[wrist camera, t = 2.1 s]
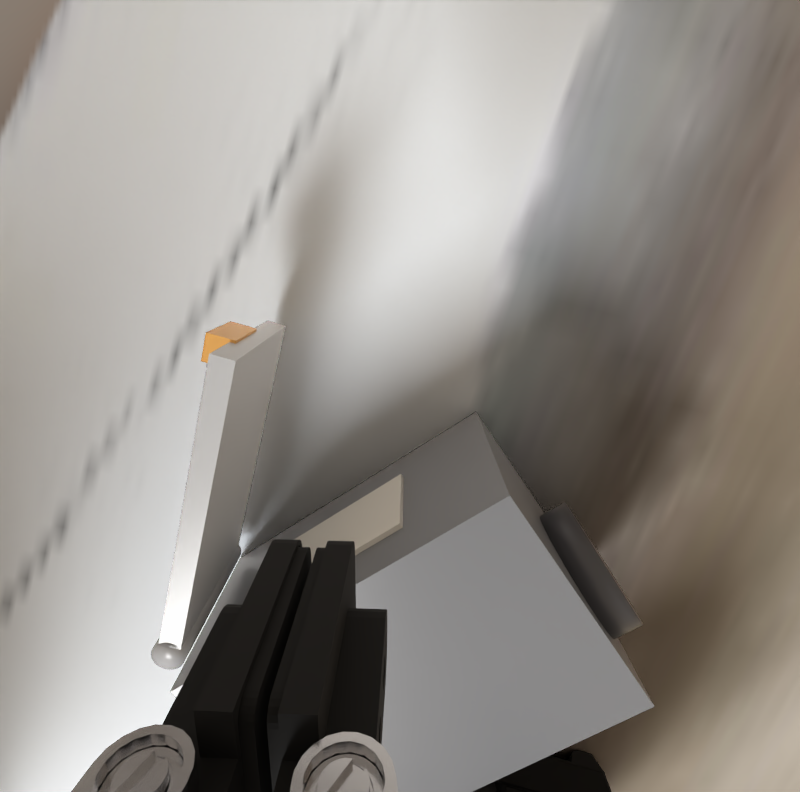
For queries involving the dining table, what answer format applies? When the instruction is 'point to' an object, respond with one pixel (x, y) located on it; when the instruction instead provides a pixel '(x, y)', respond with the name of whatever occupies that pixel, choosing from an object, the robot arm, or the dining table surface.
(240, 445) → the side door
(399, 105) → the dining table surface
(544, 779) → the camera
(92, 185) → the dining table surface
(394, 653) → the grey device box
